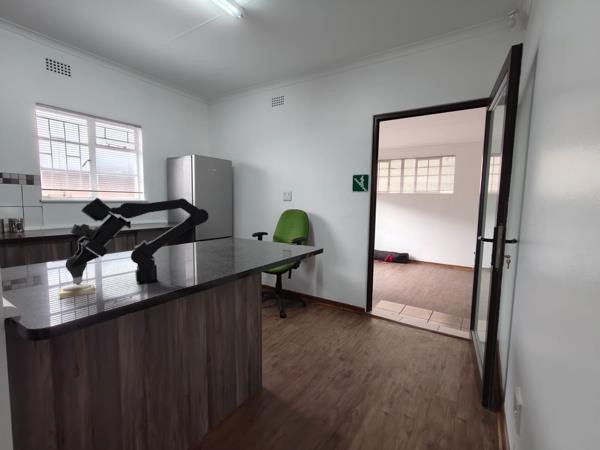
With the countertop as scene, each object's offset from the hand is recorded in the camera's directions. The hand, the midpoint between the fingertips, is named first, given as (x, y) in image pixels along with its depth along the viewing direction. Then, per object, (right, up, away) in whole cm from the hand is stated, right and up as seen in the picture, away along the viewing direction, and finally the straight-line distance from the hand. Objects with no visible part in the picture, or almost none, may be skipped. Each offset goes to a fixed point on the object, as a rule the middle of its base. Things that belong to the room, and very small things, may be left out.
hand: (71, 265), depth 92 cm
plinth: (+1, -9, +2) cm, 9 cm away
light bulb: (+1, -7, +2) cm, 7 cm away
